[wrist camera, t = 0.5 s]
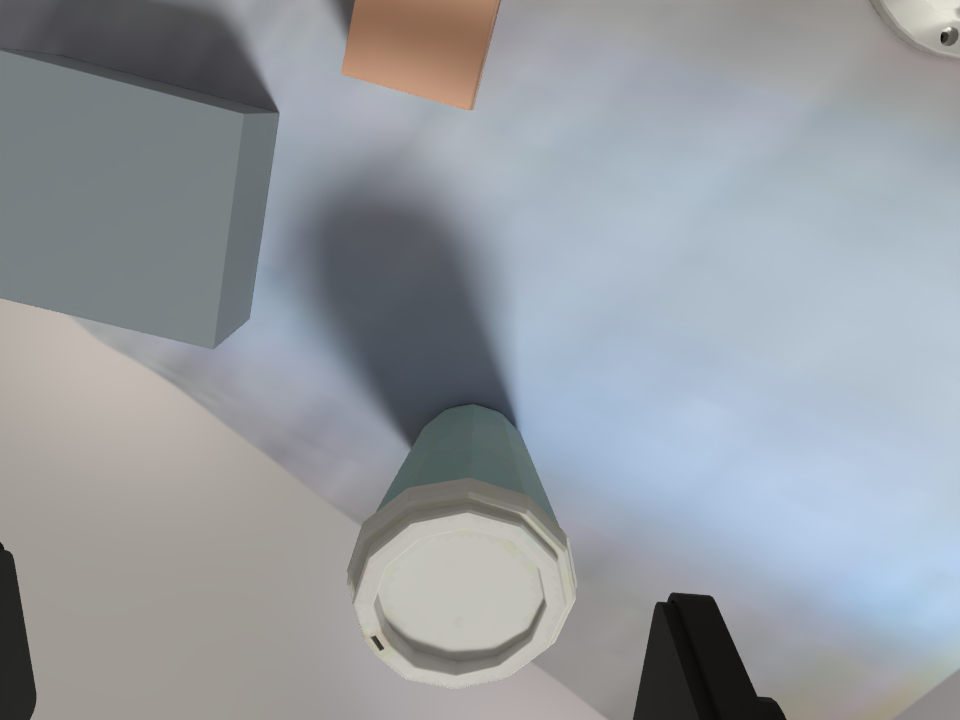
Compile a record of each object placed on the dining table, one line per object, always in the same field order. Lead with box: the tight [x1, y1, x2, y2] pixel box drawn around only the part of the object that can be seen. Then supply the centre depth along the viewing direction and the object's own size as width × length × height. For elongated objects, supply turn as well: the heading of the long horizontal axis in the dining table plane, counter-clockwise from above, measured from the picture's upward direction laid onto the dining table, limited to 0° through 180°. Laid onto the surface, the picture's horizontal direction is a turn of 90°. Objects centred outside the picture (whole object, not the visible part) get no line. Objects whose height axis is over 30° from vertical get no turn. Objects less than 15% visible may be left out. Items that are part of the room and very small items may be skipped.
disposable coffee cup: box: [347, 404, 577, 689], centre depth 38 cm, size 11×11×15 cm
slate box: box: [0, 48, 280, 349], centre depth 38 cm, size 12×12×6 cm
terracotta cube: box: [341, 0, 501, 110], centre depth 34 cm, size 6×6×6 cm
